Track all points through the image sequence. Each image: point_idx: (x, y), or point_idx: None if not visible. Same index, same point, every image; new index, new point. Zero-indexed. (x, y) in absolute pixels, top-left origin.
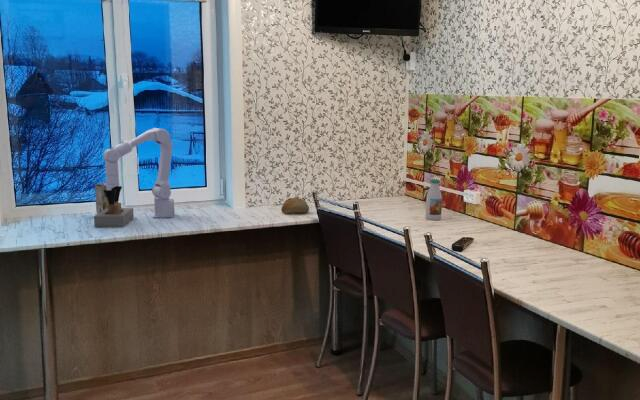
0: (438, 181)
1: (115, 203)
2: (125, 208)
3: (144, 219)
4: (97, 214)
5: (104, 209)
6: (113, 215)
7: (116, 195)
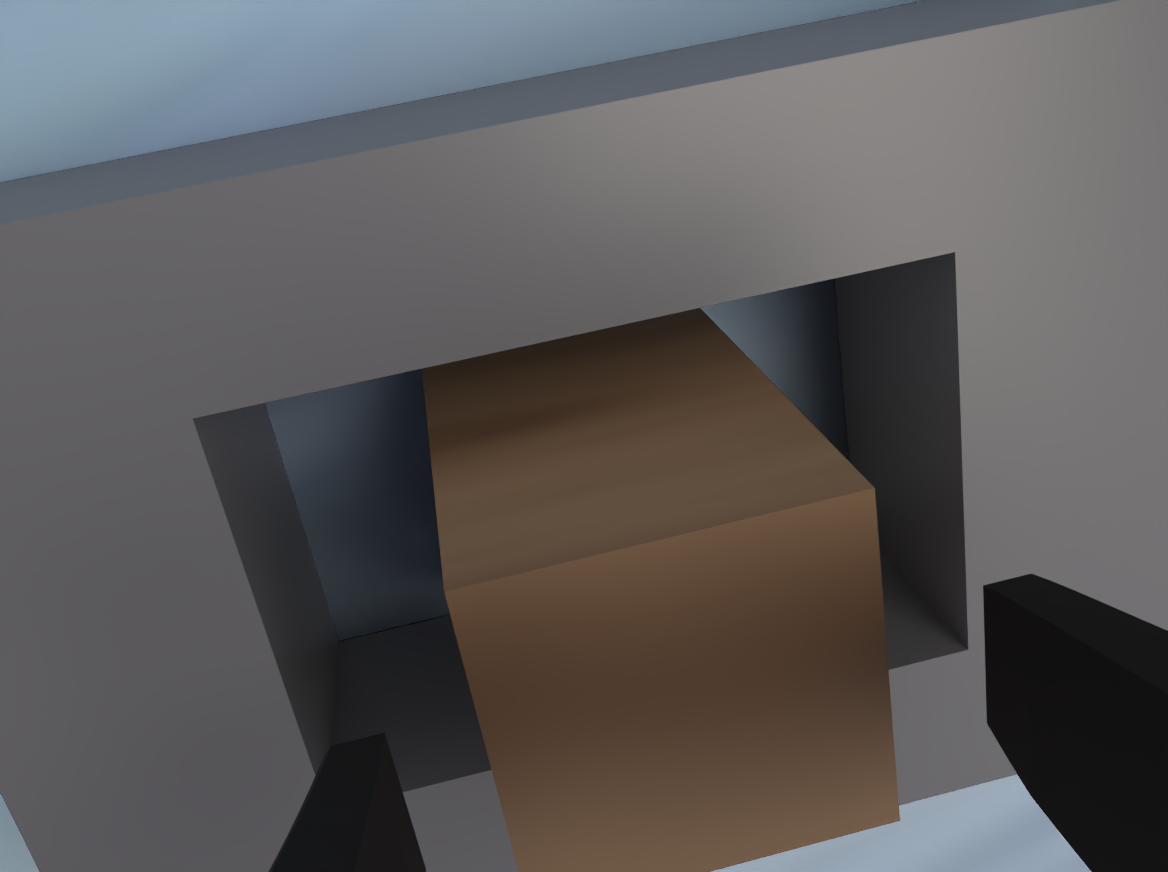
0: None
1: (768, 717)
2: (1131, 590)
3: (891, 838)
4: (117, 227)
5: (999, 36)
6: (127, 770)
7: (1155, 855)
